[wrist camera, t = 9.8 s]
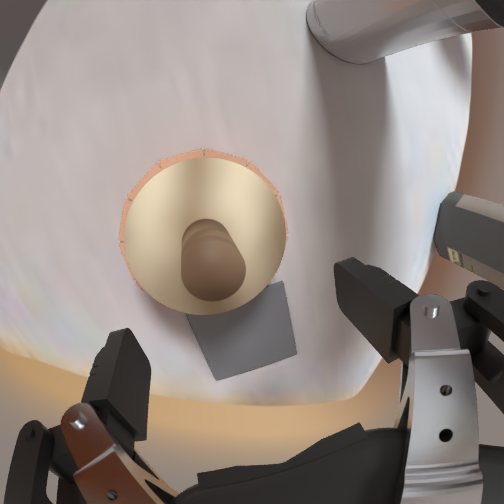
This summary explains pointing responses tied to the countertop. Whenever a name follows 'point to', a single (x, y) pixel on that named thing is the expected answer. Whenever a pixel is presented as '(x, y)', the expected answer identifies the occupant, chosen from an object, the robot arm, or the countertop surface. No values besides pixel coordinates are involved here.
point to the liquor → (472, 235)
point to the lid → (204, 236)
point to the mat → (247, 334)
